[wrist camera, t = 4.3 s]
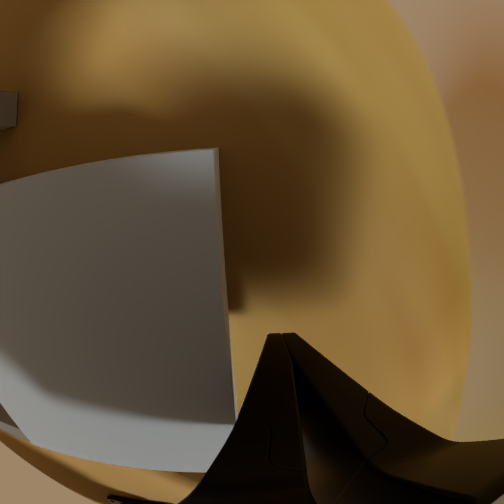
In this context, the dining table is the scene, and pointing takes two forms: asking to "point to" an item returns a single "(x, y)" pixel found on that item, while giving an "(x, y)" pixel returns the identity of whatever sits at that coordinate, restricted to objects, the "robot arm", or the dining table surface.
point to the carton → (118, 311)
